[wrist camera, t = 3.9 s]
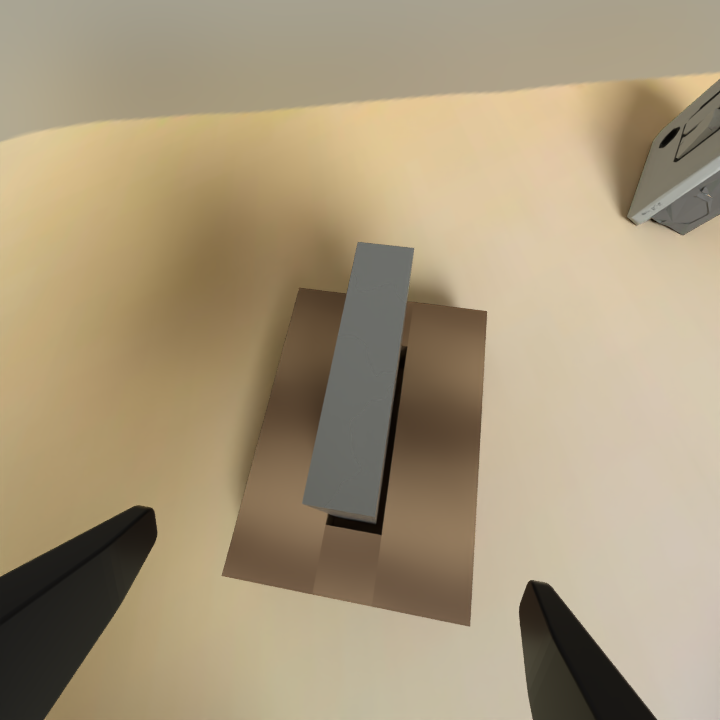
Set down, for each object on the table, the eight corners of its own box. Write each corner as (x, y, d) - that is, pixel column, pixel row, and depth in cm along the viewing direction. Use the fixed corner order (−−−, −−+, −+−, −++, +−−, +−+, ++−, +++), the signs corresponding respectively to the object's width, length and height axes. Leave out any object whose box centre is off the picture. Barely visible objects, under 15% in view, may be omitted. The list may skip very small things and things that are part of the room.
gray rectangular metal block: (376, 525, 20) (374, 517, 10) (340, 518, 20) (302, 503, 10) (397, 374, 23) (414, 248, 13) (366, 369, 23) (358, 242, 13)
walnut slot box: (451, 608, 19) (470, 626, 15) (250, 568, 20) (221, 575, 16) (470, 344, 24) (487, 311, 21) (310, 323, 25) (299, 287, 22)
